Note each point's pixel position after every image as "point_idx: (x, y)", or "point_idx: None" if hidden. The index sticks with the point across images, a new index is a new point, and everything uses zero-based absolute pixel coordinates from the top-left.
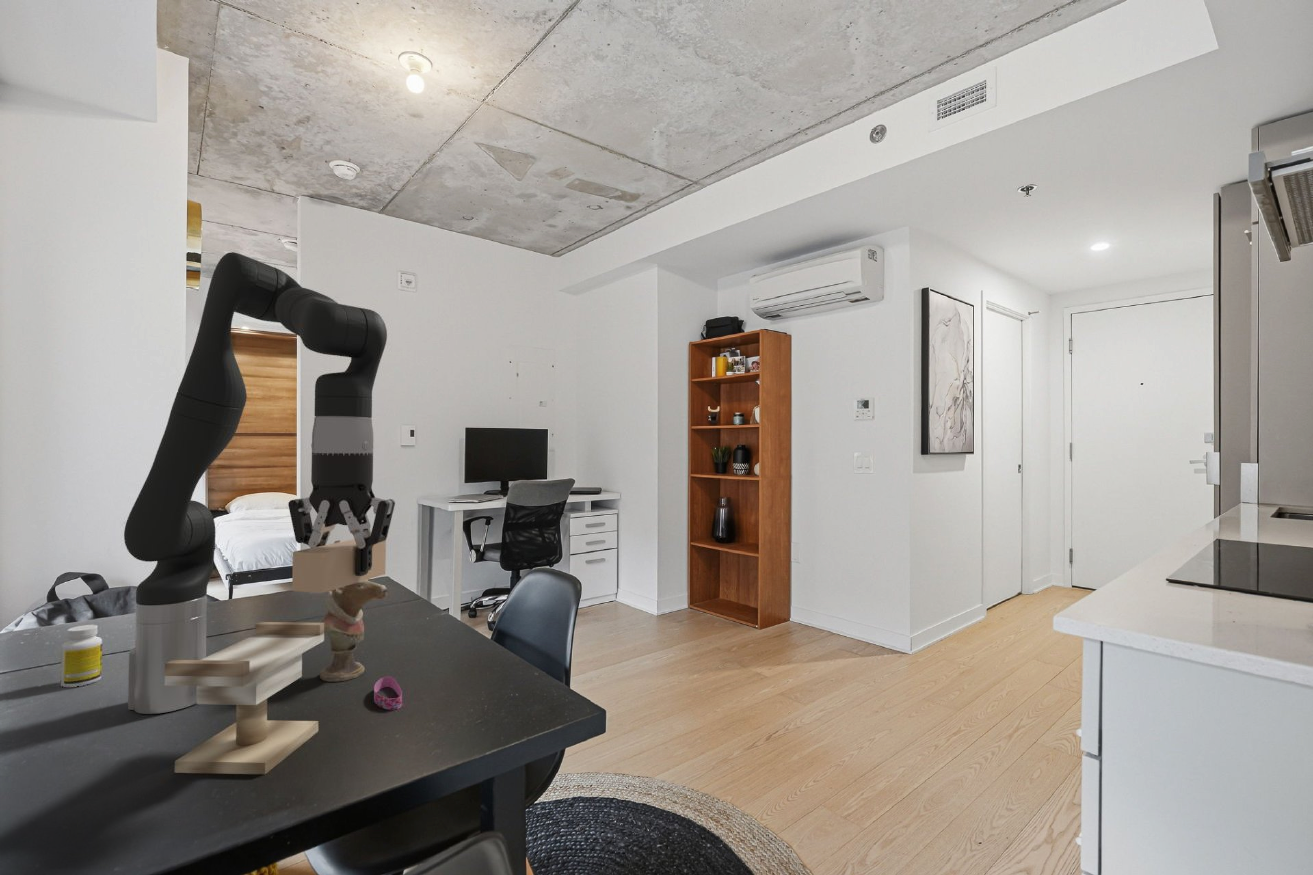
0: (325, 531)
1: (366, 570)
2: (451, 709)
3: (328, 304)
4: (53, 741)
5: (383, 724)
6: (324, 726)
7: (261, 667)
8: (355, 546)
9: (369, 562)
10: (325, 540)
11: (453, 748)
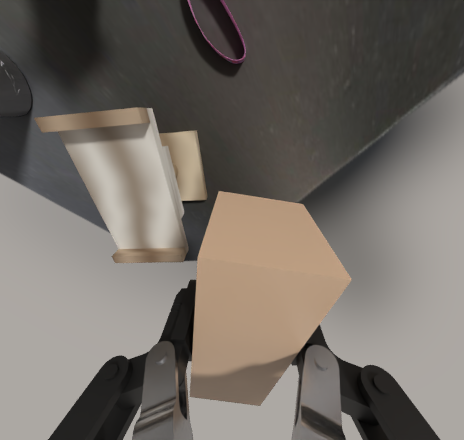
0: (185, 420)
1: None
2: (309, 52)
3: None
4: (23, 169)
5: (247, 107)
6: (195, 119)
7: (181, 233)
8: (287, 366)
9: None
10: (177, 365)
11: (328, 148)
